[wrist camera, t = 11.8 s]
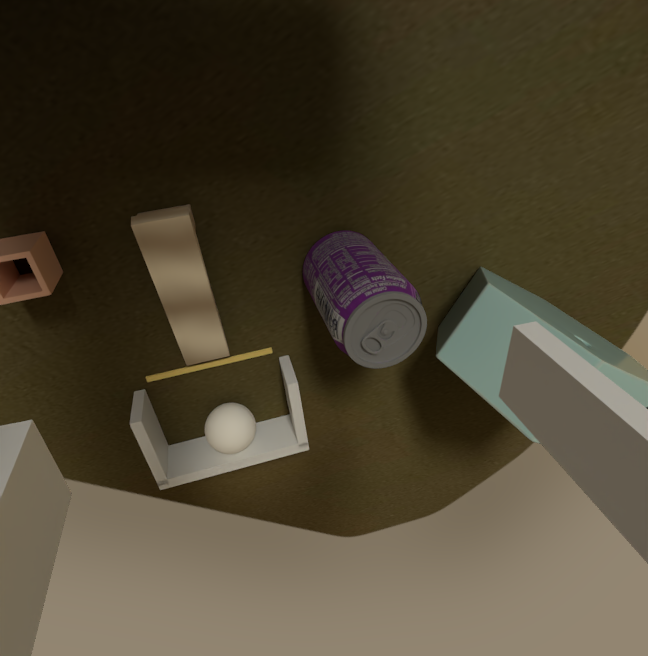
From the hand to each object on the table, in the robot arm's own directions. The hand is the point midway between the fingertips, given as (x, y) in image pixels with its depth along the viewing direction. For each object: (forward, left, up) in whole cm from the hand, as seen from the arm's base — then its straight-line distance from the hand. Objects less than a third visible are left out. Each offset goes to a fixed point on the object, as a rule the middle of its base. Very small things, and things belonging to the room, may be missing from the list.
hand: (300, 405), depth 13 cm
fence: (+23, -5, -27) cm, 36 cm away
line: (+17, -5, -27) cm, 33 cm away
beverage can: (+10, +8, -28) cm, 30 cm away
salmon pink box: (+3, -16, -27) cm, 32 cm away
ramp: (+9, -5, -27) cm, 29 cm away
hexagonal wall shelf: (+19, +24, -28) cm, 41 cm away
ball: (+23, -5, -25) cm, 34 cm away
